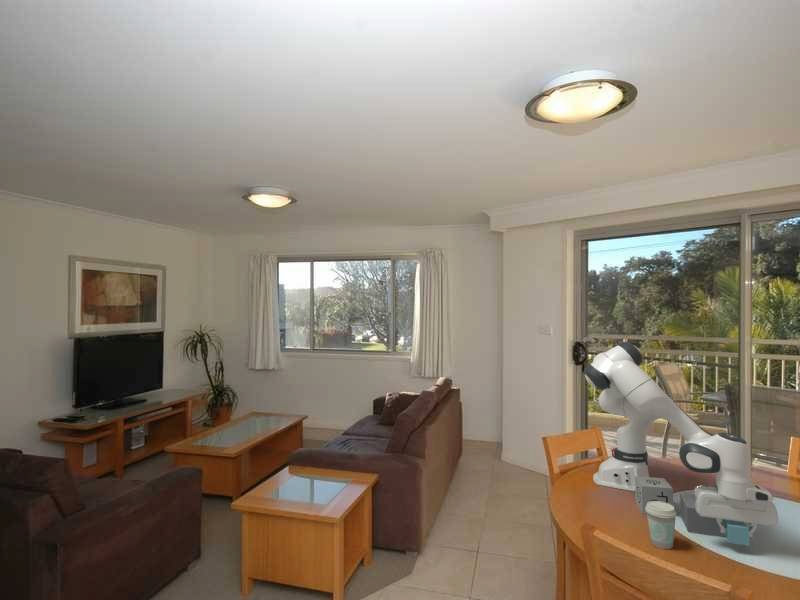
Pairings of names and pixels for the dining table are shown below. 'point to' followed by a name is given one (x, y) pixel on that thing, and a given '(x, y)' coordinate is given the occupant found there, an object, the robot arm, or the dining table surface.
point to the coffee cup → (661, 523)
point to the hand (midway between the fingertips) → (736, 534)
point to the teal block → (736, 532)
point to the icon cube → (652, 491)
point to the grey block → (698, 518)
